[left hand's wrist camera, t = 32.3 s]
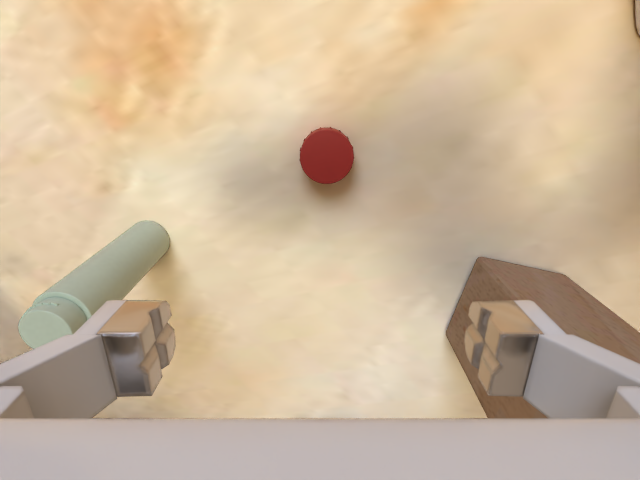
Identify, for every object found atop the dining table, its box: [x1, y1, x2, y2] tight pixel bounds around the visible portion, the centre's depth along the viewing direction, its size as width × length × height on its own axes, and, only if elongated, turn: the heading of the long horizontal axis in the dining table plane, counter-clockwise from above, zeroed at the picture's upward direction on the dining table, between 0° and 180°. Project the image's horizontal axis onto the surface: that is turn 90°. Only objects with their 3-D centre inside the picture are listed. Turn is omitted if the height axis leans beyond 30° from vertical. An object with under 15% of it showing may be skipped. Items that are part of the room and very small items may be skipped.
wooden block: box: [446, 257, 640, 418], centre depth 32 cm, size 10×10×20 cm
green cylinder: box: [18, 221, 170, 349], centre depth 31 cm, size 4×4×16 cm
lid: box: [300, 127, 354, 184], centre depth 35 cm, size 5×5×2 cm
